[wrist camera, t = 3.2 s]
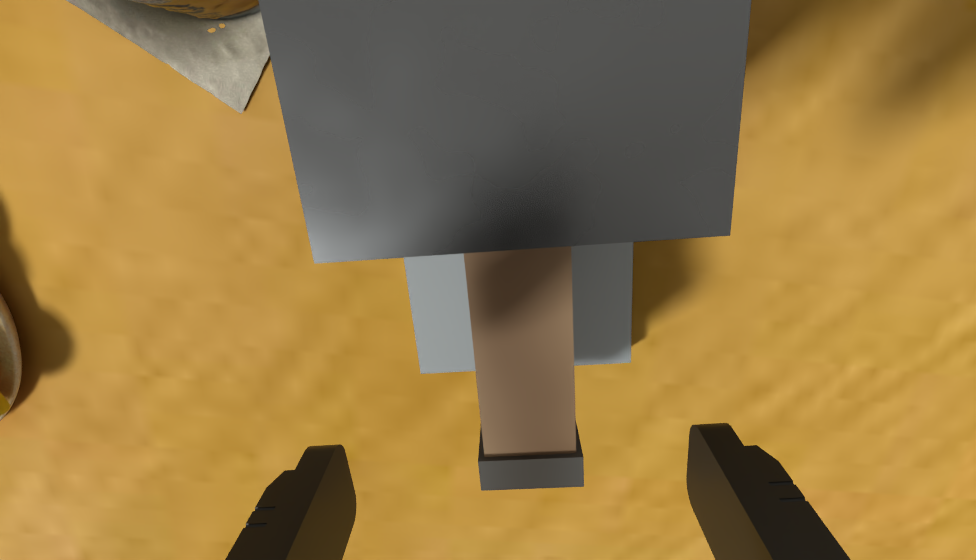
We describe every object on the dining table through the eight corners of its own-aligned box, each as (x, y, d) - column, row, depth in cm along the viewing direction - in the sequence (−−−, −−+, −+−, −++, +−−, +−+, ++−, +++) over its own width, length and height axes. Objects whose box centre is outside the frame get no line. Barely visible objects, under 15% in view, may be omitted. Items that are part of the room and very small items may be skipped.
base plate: (637, -369, 14) (646, -401, 13) (625, 351, 22) (630, 362, 21) (326, -326, 15) (313, -354, 14) (424, 362, 23) (420, 373, 22)
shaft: (548, -412, 12) (563, -598, 9) (571, 422, 20) (583, 486, 17) (403, -392, 12) (366, -564, 9) (485, 426, 20) (481, 490, 17)
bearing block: (632, -76, 17) (775, -260, 8) (628, 168, 20) (729, 235, 11) (365, -48, 17) (217, -191, 8) (399, 185, 20) (314, 263, 11)
